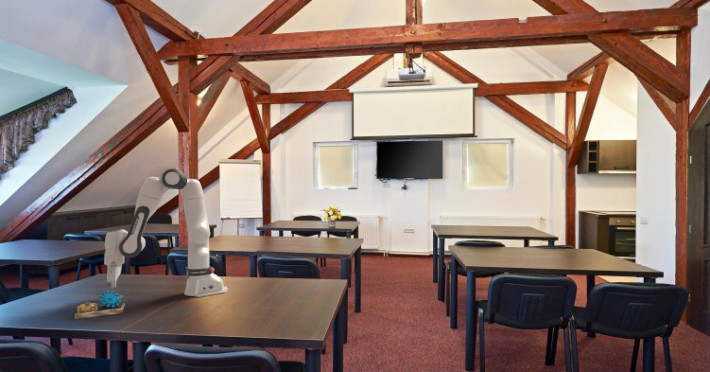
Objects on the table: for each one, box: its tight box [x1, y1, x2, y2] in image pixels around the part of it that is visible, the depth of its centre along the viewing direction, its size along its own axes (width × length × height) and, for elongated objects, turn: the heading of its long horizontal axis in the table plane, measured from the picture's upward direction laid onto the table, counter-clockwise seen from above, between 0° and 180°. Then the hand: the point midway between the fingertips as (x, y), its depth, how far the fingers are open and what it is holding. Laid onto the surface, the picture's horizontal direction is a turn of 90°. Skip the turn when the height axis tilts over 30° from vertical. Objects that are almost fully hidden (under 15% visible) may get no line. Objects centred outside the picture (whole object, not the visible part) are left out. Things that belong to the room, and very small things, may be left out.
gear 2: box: [98, 290, 124, 309], centre depth 184 cm, size 11×6×10 cm
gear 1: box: [76, 301, 98, 313], centre depth 173 cm, size 7×7×4 cm
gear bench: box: [74, 302, 126, 320], centre depth 175 cm, size 18×12×2 cm
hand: (113, 287), depth 193 cm, fingers closed
